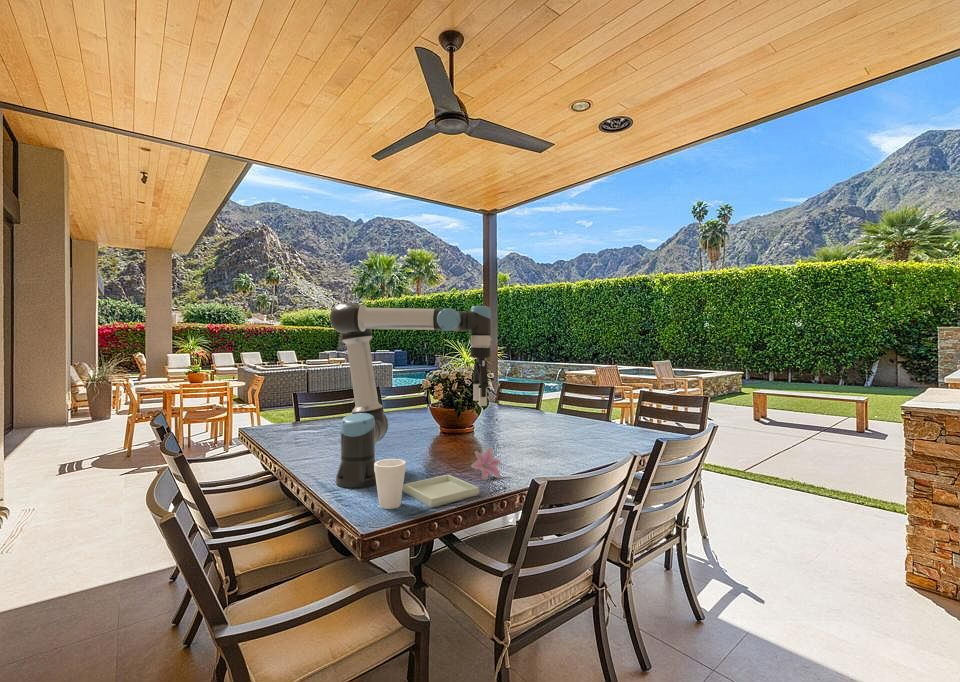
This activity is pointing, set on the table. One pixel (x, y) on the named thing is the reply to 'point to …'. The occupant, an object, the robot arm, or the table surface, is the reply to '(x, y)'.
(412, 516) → the table surface
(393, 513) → the table surface
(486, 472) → the lily
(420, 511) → the table surface
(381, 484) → the foam cup
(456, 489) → the tray
